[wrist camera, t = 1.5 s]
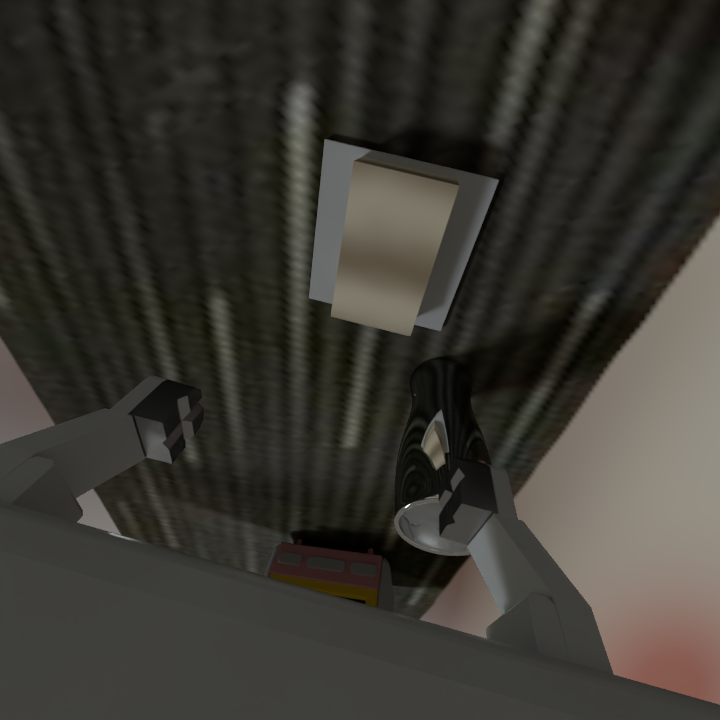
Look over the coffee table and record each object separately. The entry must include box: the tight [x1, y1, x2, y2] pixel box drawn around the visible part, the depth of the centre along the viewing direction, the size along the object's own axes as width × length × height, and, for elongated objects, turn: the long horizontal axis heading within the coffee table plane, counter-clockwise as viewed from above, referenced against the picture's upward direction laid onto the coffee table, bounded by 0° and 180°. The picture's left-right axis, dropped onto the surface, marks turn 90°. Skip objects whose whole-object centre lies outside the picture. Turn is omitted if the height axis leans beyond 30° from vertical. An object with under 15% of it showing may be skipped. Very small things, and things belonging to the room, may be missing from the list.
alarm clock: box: [264, 539, 394, 612], centre depth 52 cm, size 20×16×18 cm
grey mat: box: [309, 139, 499, 331], centre depth 26 cm, size 12×12×1 cm
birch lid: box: [331, 157, 459, 336], centre depth 25 cm, size 11×7×3 cm, turn 169°
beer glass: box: [394, 359, 492, 556], centre depth 27 cm, size 7×7×15 cm
